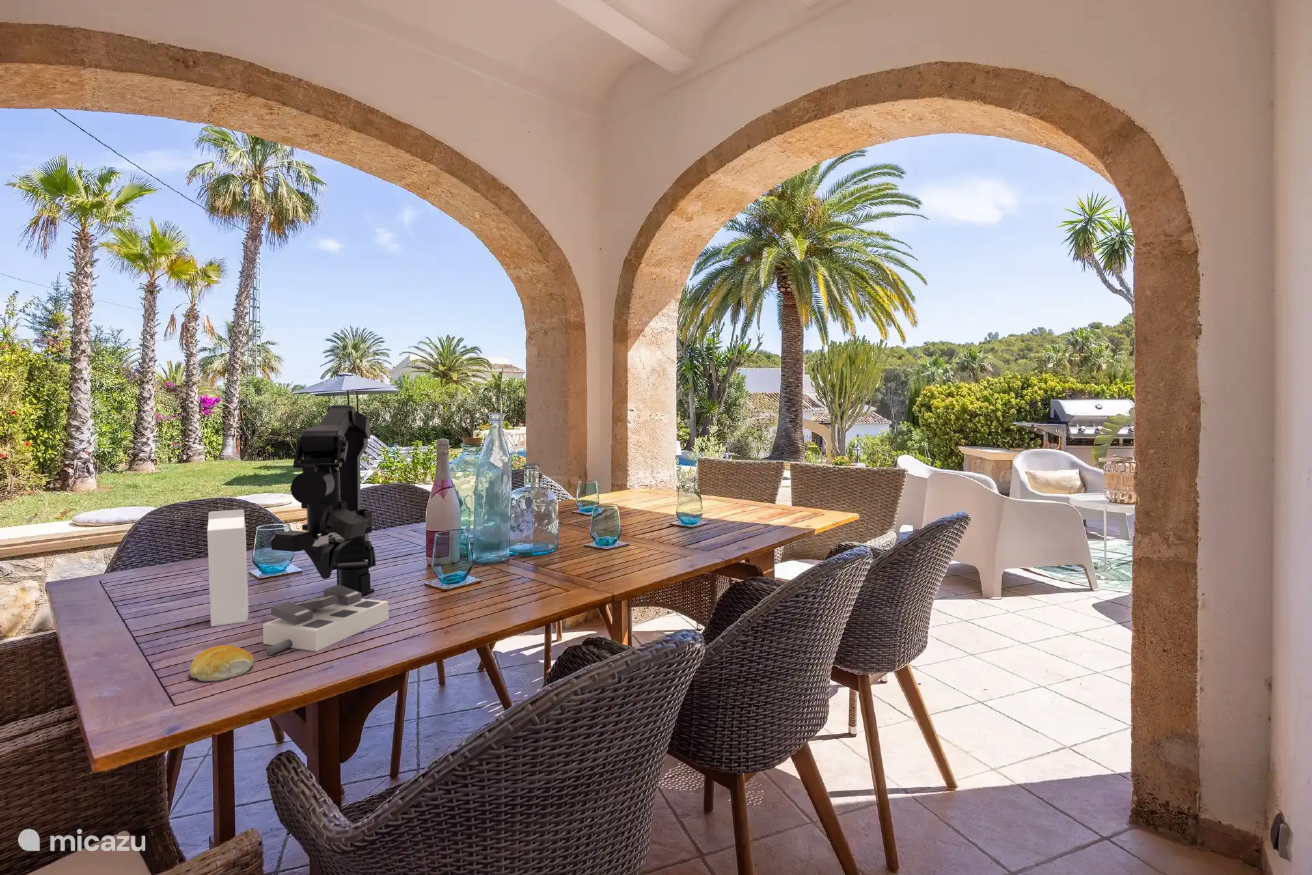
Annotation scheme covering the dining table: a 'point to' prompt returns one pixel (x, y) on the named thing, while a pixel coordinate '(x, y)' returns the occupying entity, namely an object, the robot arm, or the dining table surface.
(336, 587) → the rocker
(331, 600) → the rocker middle
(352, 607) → the power strip
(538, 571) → the dining table surface
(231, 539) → the milk
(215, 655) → the bread roll
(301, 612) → the rocker
